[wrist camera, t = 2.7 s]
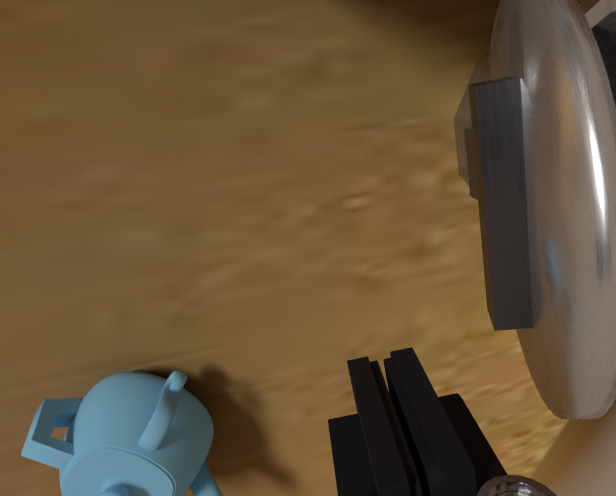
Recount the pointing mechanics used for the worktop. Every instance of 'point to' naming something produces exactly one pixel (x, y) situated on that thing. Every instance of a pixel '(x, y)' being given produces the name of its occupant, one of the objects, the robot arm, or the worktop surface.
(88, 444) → the teapot
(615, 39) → the pot
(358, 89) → the worktop surface
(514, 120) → the lid
